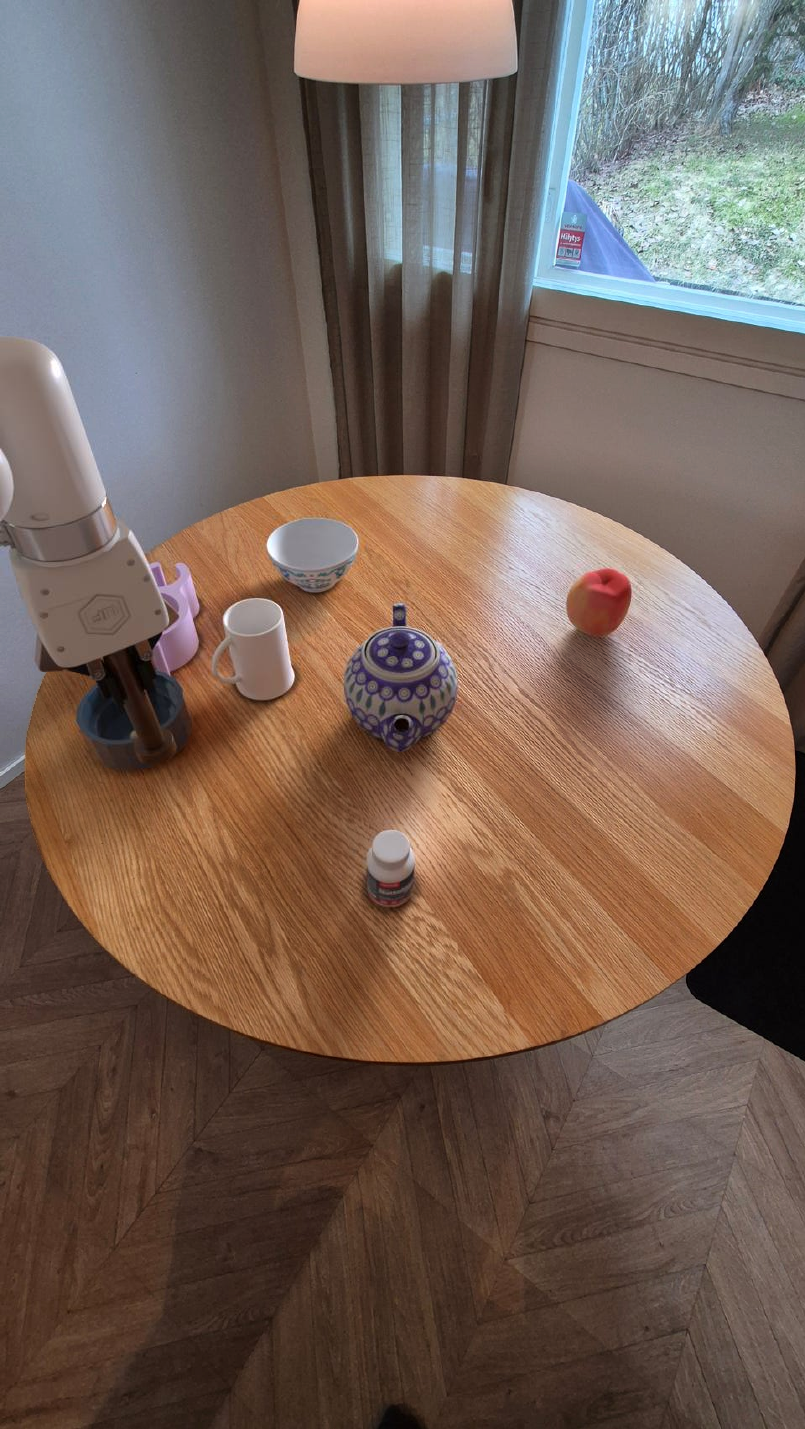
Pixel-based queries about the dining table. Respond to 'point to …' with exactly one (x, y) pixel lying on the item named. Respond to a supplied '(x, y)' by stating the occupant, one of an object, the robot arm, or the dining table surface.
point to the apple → (599, 602)
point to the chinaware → (313, 552)
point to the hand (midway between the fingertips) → (131, 690)
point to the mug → (256, 649)
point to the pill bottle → (390, 869)
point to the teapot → (400, 683)
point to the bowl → (112, 725)
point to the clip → (181, 635)
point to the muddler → (140, 710)
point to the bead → (133, 735)
